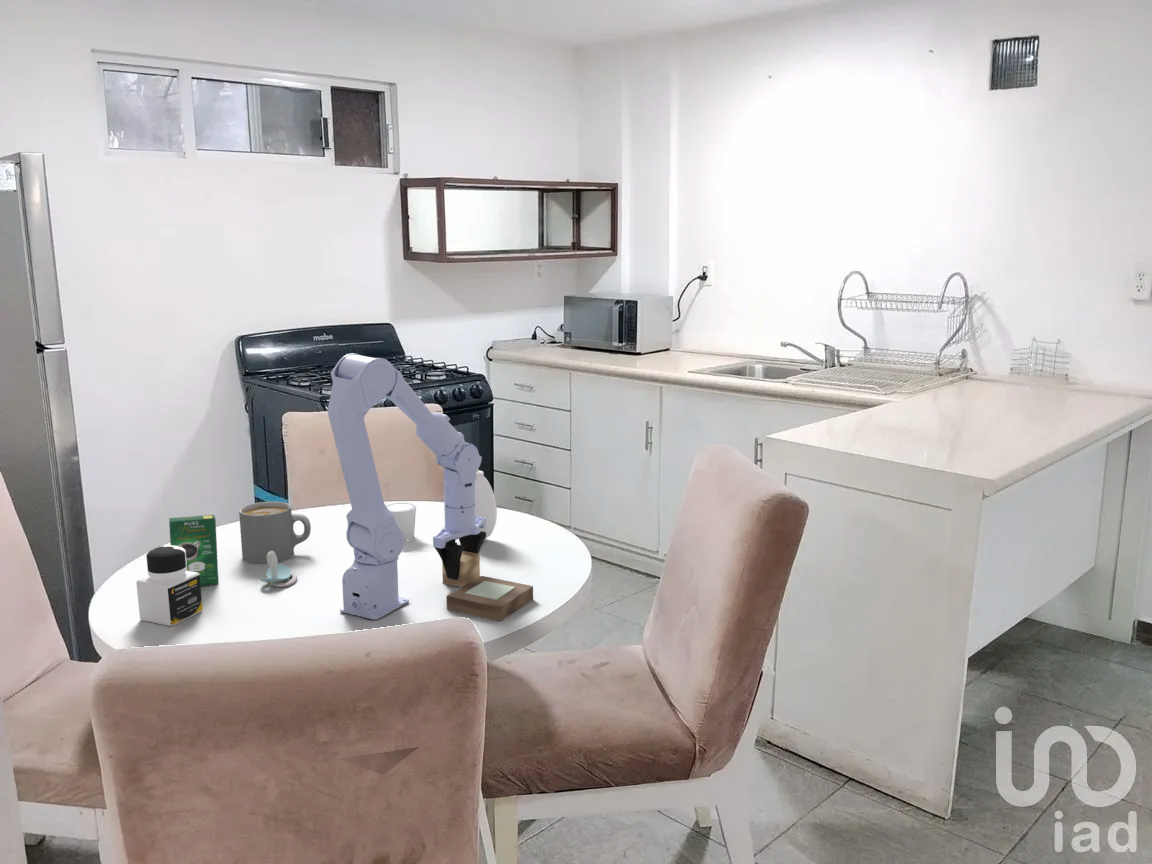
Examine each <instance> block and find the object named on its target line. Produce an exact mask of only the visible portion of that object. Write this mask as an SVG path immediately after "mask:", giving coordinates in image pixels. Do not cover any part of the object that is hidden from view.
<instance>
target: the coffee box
mask: <svg viewBox="0 0 1152 864" xmlns="http://www.w3.org/2000/svg"><path fill="white" fill-rule="evenodd" d="M168 521H169V522H168V523H169V541H170V545H174V546H179V547H182V548H184V549H185V550H186V561H187V571H191V572H197V573H199V574H200V585H201V587H204V586H211V585H212V586H213V585H219V583H220V582H219V580H220V579H219V568H218V567H219V566H218V564H219V563H218V562H219V561H218V545H217V544H218V542H217V526H216V525H217V523H216V522H217V519H216V516H215V514H207V515H193V516H191V515H190V516H179V517H169V519H168Z"/></svg>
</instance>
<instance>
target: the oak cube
mask: <svg viewBox="0 0 1152 864" xmlns="http://www.w3.org/2000/svg"><path fill="white" fill-rule="evenodd" d="M480 558H481V557H480V553H479V554H477V553H472V552H467V551H463V552H462V555H461V560H460V571H459V577H458V579H457V580H454V579H449V578H447V575H446V571H445V568H444V565H443V562H442V561H441V562H442V563H441V565H442V584H446V585H452V586H456V587H459V588H461V587H462V586H464V585H466V584H468V583H469V582H471V581H473V580H475V579H476V578H478V577H480V576H481V575H480V574H481V572H480V571H481V568H480V567H481V564H480V560H481V559H480Z"/></svg>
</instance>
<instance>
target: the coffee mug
mask: <svg viewBox="0 0 1152 864" xmlns="http://www.w3.org/2000/svg"><path fill="white" fill-rule="evenodd" d="M238 515H239V529H240V543H241V556H242V561H243V562H245V563H248V564H254V565H267V564H268V563H267V559H266V557H267V554H268V553H269V552H270V551H274V552H275V554H276V556H277V560H278V563H280V562H283V561H286V560H288V559H291V558H292V557H293V556H294V555H295V554H294V553H295V551H294V550H295V547H296V546H297V545H299V544H301V543H303V542H306V541H307V540H308V538H310V535H311V530H312V529H311V522H310V521H311V520H310V519H309V517H308V516H307V515H305V514H303V513H293V512H292V505H291V504H289V503H287V502H285V501H284V502H282V501H263V502H261V501H260V502H256V503H251V504H250V503H249V504H247V505H244V506H242V507H241V508H239V512H238ZM298 521H299V522H301V523H302V524H303V527H304V529H303V533H301V534H300V535H299V534H297V533H296V532H295V529H294V524H295V523H296V522H298Z"/></svg>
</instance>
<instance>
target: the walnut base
mask: <svg viewBox="0 0 1152 864" xmlns="http://www.w3.org/2000/svg"><path fill="white" fill-rule="evenodd" d="M533 600H534V585H529V584H523V583H520V582H514V581H509V580H504V579H501V578H495V577H490V576H484V575H480V577H478V578H476V579H475V580H473V581H471V582H469V583H468V584H466V585H464V586H462V587H459V588H457V589H456V590H454V591H452V592H451V593H448V594H446V610H448V611H454V612H457V613H462V614H466V615H470V616H475V617H479V616H480V618H485V619H489V620H492V621H498V622H502V621H503V620H505V619H506V618H507V617H509V616H511V615H513V614H514V613H515V612H517V611H518V610H519V609H522V608H523V607H524V606H526V605H527V604H528V603H530V602H531V601H533Z"/></svg>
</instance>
